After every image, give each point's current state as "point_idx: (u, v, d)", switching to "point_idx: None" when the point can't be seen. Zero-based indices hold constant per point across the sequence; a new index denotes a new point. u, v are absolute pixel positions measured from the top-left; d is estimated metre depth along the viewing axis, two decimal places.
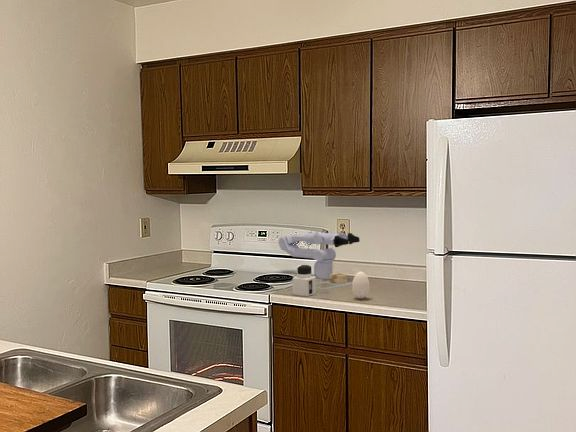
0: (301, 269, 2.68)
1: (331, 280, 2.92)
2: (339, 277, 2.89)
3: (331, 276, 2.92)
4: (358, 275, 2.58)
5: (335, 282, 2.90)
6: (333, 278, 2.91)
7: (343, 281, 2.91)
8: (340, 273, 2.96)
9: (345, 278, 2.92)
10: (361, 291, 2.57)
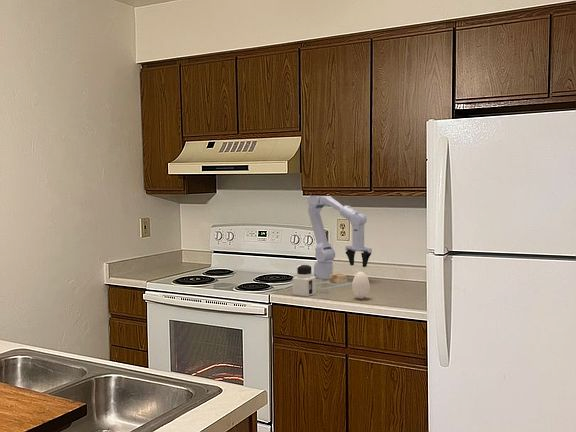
0: (301, 269, 2.68)
1: (331, 280, 2.92)
2: (339, 277, 2.89)
3: (331, 276, 2.92)
4: (358, 275, 2.58)
5: (335, 282, 2.90)
6: (333, 278, 2.91)
7: (343, 281, 2.91)
8: (340, 273, 2.96)
9: (345, 278, 2.92)
10: (361, 291, 2.57)
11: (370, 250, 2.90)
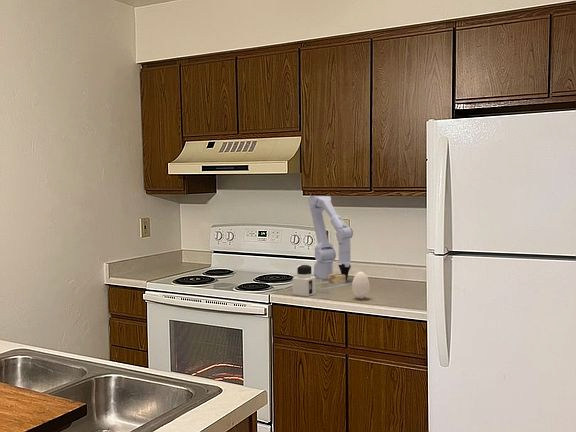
0: (301, 269, 2.68)
1: (329, 280, 2.92)
2: (337, 277, 2.89)
3: (329, 276, 2.92)
4: (358, 275, 2.58)
5: (333, 282, 2.90)
6: (331, 278, 2.91)
7: (342, 281, 2.91)
8: None
9: (343, 278, 2.91)
10: (361, 291, 2.57)
11: (347, 264, 2.88)
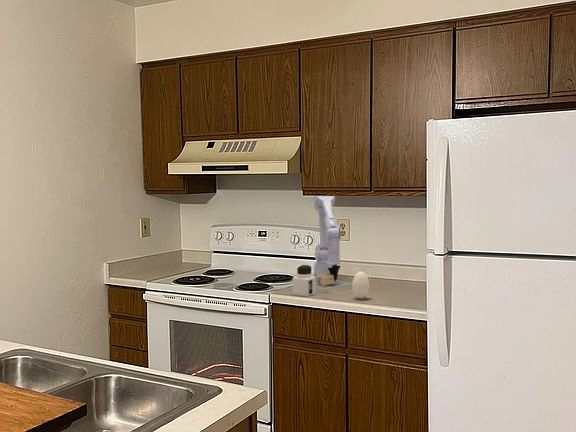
0: (301, 269, 2.68)
1: (318, 281, 2.90)
2: (323, 279, 2.85)
3: (318, 277, 2.90)
4: (358, 275, 2.58)
5: (321, 283, 2.87)
6: (319, 280, 2.88)
7: (329, 282, 2.87)
8: None
9: (331, 279, 2.87)
10: (361, 291, 2.57)
11: (328, 265, 2.83)
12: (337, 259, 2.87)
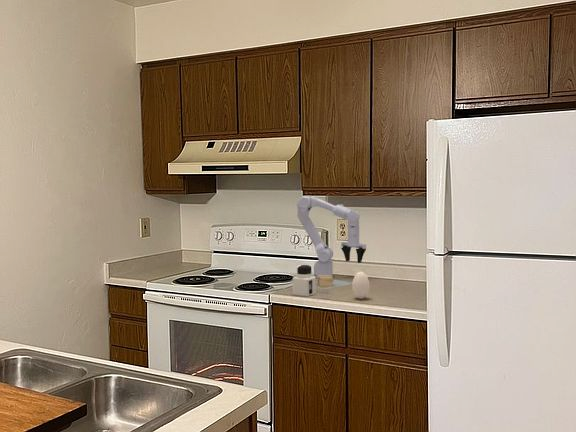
0: (301, 269, 2.68)
1: (318, 281, 2.90)
2: (321, 279, 2.85)
3: (318, 277, 2.89)
4: (358, 275, 2.58)
5: (319, 284, 2.87)
6: (318, 280, 2.88)
7: (328, 283, 2.86)
8: (330, 275, 2.90)
9: (330, 281, 2.86)
10: (361, 291, 2.57)
11: (364, 246, 2.98)
12: None
